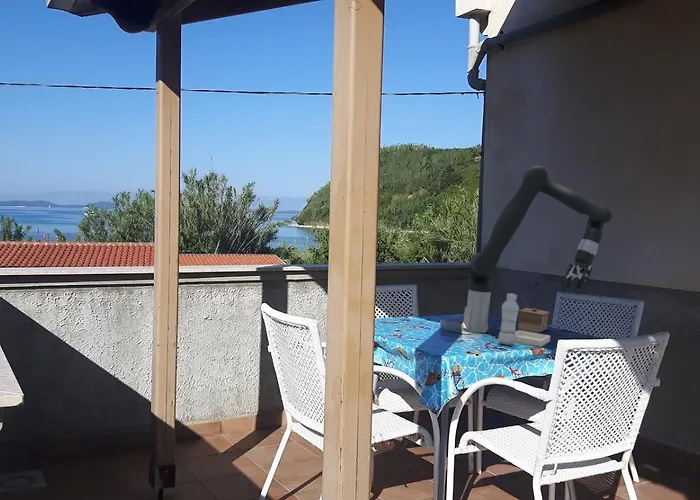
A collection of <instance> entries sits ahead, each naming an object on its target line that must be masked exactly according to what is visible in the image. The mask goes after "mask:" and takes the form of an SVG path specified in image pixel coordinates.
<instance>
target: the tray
mask: <svg viewBox="0 0 700 500" xmlns="http://www.w3.org/2000/svg"><path fill="white" fill-rule="evenodd" d="M515 334H516V341H515V343H514V344H520V343H521V344H522V345H525V344H527V346H531V345H532V346H531V347H536V346H538V347H537V348H542V347H543V346H545V345H547V344H548V343H550V342H551V335H548V334H542V333H538V332H533V331H527V330H521V329H518V330H517V331H515Z"/></svg>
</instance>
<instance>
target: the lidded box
mask: <svg viewBox="0 0 700 500" xmlns="http://www.w3.org/2000/svg"><path fill="white" fill-rule="evenodd" d="M518 314H519V315H518V323H517V330H521V331H527V332H533V333H538V332H541V333H543V332H544V330H545V331H546V330H547V328H548V319H549V315H550V311H547V310H543V309H542V310H541V309H538V308H536V307H535V308H534V307H533V308H528V307H525V308H523V309H519V311H518ZM542 331H543V332H542Z"/></svg>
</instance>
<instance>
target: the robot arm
mask: <svg viewBox="0 0 700 500" xmlns="http://www.w3.org/2000/svg"><path fill="white" fill-rule="evenodd" d="M539 193H543V194H544V195H546V196H549V197H551V198H552V199H554V200H556V201H557V202H560V203H561V204H563V205H565V207H567V208H569V209H571V210H572V211H574V212H576V213H578V214H579V215H585V216H588V219H587V222H586V227H585V231H584V233H583V236H582V238H581V240H580V243H579V244H578V247H577V249H576V251H575V253H574V257H573V261H574V264H572V263H569V265H568V268H567V269H566V271H565V274H564V278H566V280H565V282H564V285H563V287H564V288H565V289H568V290H569V289H570V287H571V285H572V282H573V280H574V279H575V278H577V277H578V279H577V281H576V284H575V287H574V288H575V290H576V289H577V290H579V291H580V290H581V289H582V287H583V284H584V282H586V281H588V280H589V278H590V276H591V273H592V270H593V266H592V265H593V263H594V260H595V258H596V256H597V255H596V254H597V253H598V249H599V245H600V243H601V240H602V238H603V232H602V231H603V229H604V225H606V224H608V223H609V222H610V221H611V220H612V218H613V213H612V211H611V209H609V208H608V207H607V206H606V205H604V204H601V203H599V202H597V201H593V200H591V199H589V198H587V197H586V196H584V195H583V194H581V193H579V192H577V191H576V190H574V189H570V188H568V187H566V186H564V185H563V184H560V183H558V182H556V181H554V180H552V179H551V178H550V177H549V175H548V171H547V169H546V168H545V167H544V166H541V165H533V166H530V167H528V168H526V170H525V171H524V172H523V174H522V183H521V184H520V186H519V188H518V190H517V192H516V193H515V194H514V196H513V197H512V198H511V199H510V200H509V201H508V202H507V204H506V205H505V206H504V208H503V209H502V210H501V213H500V214H499V216H498V217H497V219H496V221H495V223H494V225H493V228H492V232H491V234H490V237H489V239H488V241H487V243H486V244H485V246H484V247H483V249H482V251H481V252H477V253H476V254H474V255H473V256H472V258H471V259H470V265H469V275H468V294H467V305H466V306H465V307H464V314H463V323H464V324H465V326H466V330H465V331H466V332H470V333H471V332H472V333H477V334H478V333H479V334H482V333H483V334H484V333H487V330H488V319H489V314H490V313H489V312H490V311H489V310H490V303H491V302H490V301H491V292H492V281H491V279H492V278H491V277H492V273H493V272H494V270H495V268H496V267H497V265H498V263H499V261H500V258H501V255H502V254H503V252H504V250H505V248H506V247H507V245H508V244H510V241H511V240H512V238H513V237H514V236H515V233H517V231H518V229H519V227H520V225H521V223H522V222H523V220H524V219H525V216H526V215H527V213H528V211H529V209H530V207H531V205H532V202H533V201H534V200H535V198H536V196H538V194H539ZM463 323H462V324H463Z"/></svg>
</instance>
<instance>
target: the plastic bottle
mask: <svg viewBox="0 0 700 500" xmlns="http://www.w3.org/2000/svg"><path fill="white" fill-rule="evenodd" d="M517 299H518V295H517V294H515V293H512V292H511V293H506V300H505V301H504V302H503V303H502V305H501V323H500V324H501V326H500V330H499V332H498V343H499V344H502V345H504V346H512V345H513V346H514V345H515V344H516V343H515V341H516V334H515V332H516V330H517V329H516V328H517V327H516V324H517V319H518V318H517V317H518V316H519V315H518V314H519V313H518V312H519V310H520V307H519V304H518V302H517Z"/></svg>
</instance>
